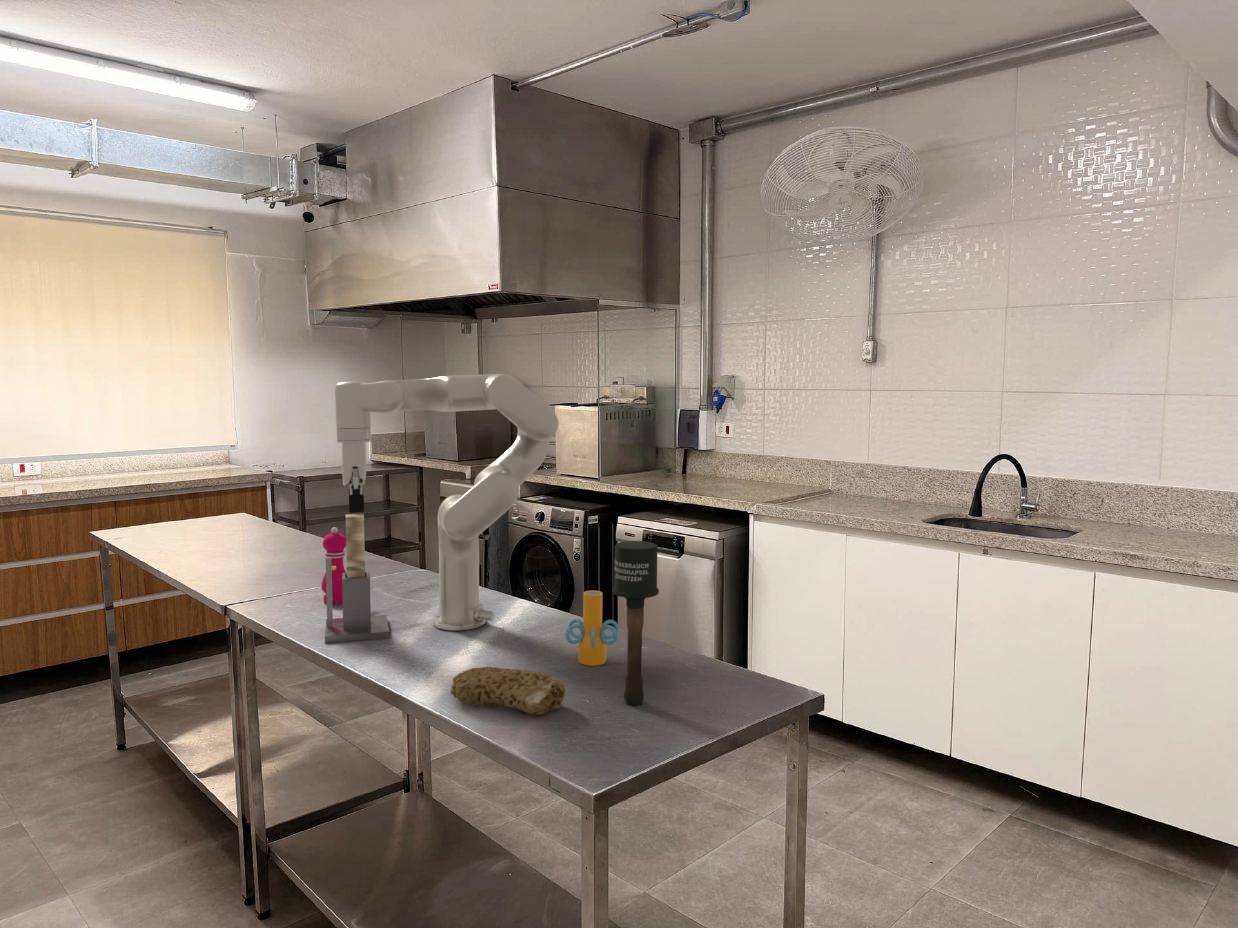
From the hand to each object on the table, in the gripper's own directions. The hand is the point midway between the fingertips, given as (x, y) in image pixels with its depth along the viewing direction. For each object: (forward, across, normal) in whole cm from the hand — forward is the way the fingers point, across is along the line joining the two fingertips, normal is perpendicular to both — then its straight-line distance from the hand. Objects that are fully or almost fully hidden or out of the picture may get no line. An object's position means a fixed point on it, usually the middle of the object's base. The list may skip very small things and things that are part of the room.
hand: (356, 509), depth 192 cm
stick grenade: (+30, +59, +48) cm, 81 cm away
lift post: (+22, 0, -1) cm, 22 cm away
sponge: (+30, +53, +25) cm, 66 cm away
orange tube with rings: (+30, +35, +47) cm, 66 cm away
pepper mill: (+29, -29, -6) cm, 41 cm away
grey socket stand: (+29, 0, -1) cm, 29 cm away
